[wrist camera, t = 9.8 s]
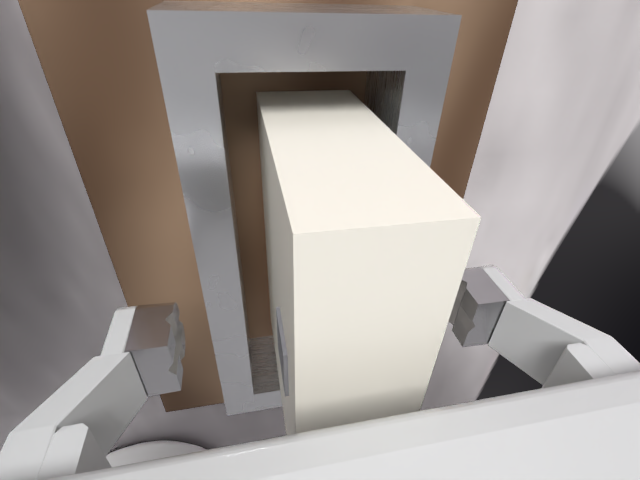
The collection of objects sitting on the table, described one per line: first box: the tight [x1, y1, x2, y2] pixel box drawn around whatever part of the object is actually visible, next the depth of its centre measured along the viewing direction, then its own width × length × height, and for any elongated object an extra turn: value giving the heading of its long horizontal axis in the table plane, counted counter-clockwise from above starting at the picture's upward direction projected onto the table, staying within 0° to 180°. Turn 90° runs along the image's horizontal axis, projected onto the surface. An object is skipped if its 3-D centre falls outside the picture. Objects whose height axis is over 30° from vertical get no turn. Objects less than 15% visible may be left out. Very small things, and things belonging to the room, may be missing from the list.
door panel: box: [256, 90, 481, 435], centre depth 12 cm, size 3×10×8 cm, turn 179°
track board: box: [18, 0, 518, 412], centre depth 15 cm, size 14×22×1 cm, turn 179°
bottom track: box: [147, 1, 462, 416], centre depth 14 cm, size 7×15×3 cm, turn 179°
